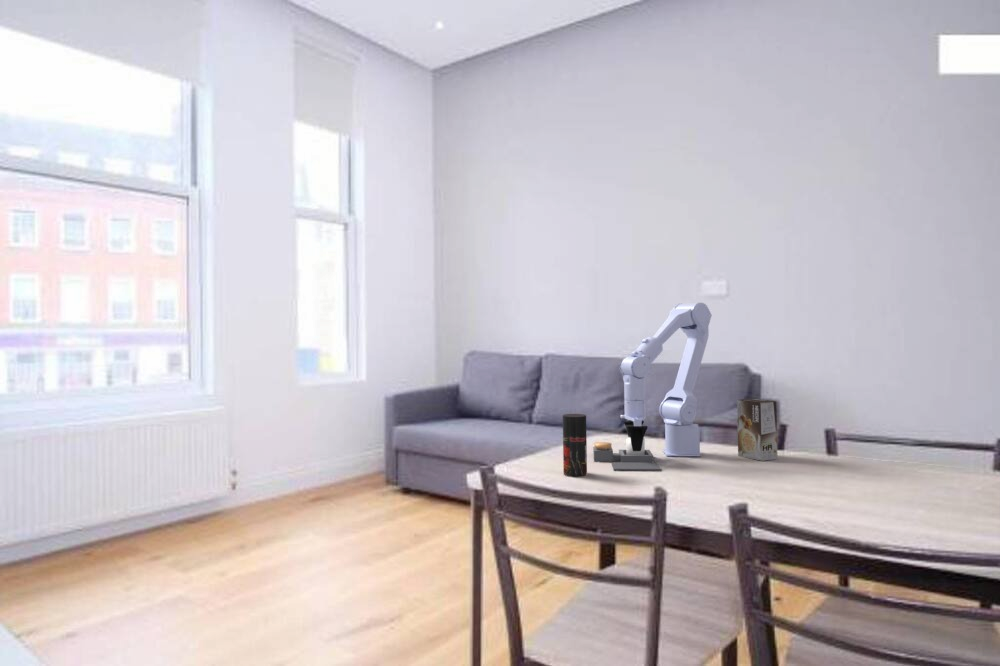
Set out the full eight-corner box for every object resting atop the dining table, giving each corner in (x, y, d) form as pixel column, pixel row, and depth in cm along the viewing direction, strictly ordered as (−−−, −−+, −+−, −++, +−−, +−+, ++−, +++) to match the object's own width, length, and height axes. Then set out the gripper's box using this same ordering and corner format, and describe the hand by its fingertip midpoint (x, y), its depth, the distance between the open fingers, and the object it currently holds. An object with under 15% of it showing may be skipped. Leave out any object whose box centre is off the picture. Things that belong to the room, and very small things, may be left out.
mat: (656, 464, 178) (656, 462, 178) (661, 471, 170) (661, 469, 170) (611, 464, 179) (611, 462, 179) (613, 470, 171) (613, 468, 171)
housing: (649, 456, 188) (649, 446, 188) (653, 463, 180) (653, 452, 179) (593, 456, 190) (592, 446, 190) (594, 462, 181) (594, 451, 181)
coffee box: (778, 459, 182) (778, 400, 182) (761, 461, 179) (761, 402, 179) (753, 453, 190) (752, 397, 190) (736, 455, 188) (735, 399, 187)
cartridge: (643, 458, 186) (643, 434, 186) (645, 461, 182) (645, 437, 181) (625, 458, 187) (625, 434, 187) (627, 461, 182) (627, 437, 182)
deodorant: (588, 476, 165) (587, 416, 165) (564, 477, 165) (563, 417, 165) (585, 471, 171) (584, 413, 171) (562, 471, 171) (561, 413, 171)
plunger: (611, 455, 187) (610, 442, 187) (612, 458, 182) (612, 445, 182) (594, 455, 188) (593, 442, 188) (594, 458, 183) (594, 445, 183)
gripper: (618, 396, 192) (618, 443, 192) (622, 402, 177) (623, 453, 177) (642, 396, 191) (643, 443, 191) (649, 402, 176) (649, 453, 177)
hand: (635, 448), depth 184 cm, fingers open, 7 cm apart
